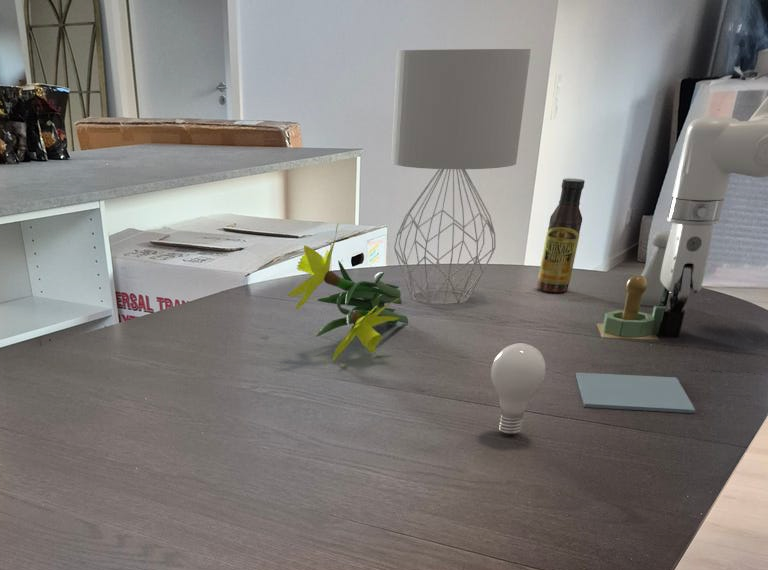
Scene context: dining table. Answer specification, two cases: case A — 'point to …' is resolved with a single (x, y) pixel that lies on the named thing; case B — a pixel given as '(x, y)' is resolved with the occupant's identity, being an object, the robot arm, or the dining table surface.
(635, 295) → the peg stand
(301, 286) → the daffodil flowers
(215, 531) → the dining table surface
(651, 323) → the ring
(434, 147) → the table lamp
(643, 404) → the mat
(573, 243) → the sauce bottle
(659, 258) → the salt shaker
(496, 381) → the lightbulb
